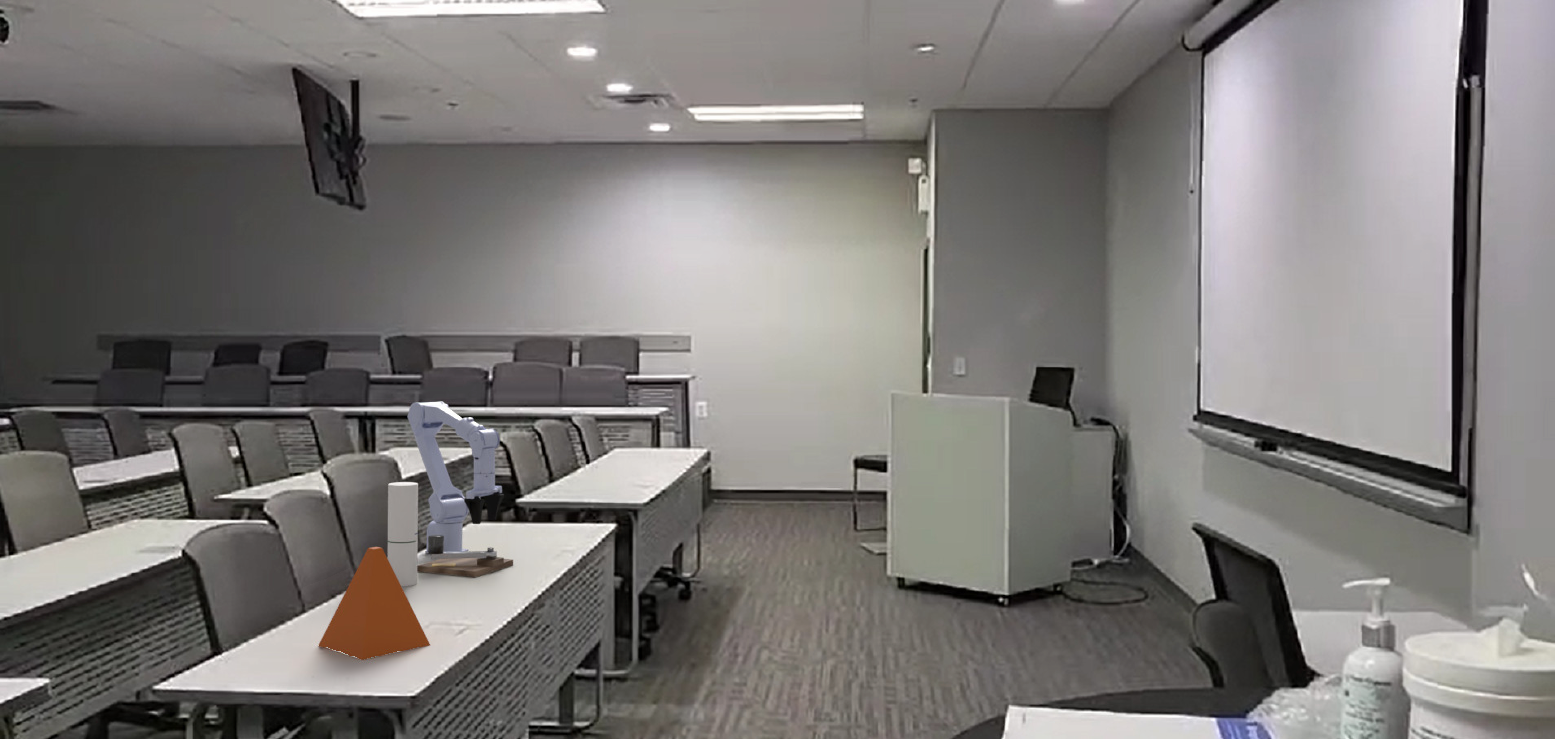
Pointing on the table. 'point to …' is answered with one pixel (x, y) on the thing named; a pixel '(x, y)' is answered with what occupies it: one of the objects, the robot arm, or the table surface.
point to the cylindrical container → (403, 531)
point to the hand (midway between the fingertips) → (484, 521)
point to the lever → (438, 552)
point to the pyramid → (374, 613)
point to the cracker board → (465, 566)
